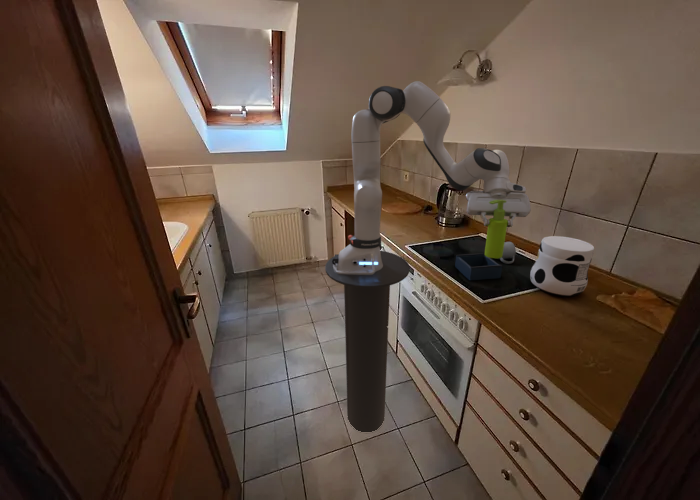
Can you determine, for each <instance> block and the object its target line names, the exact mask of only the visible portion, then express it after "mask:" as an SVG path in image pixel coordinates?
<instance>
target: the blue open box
mask: <svg viewBox="0 0 700 500" xmlns="http://www.w3.org/2000/svg"><path fill="white" fill-rule="evenodd" d="M484 253H485V252H481V253H466V254H465V253H464V254H456V256H455V263H454V267H455V268H456V269H457V271H459V272H460V273H461V274H462V275H463V276H464V277H465V278H466V279H467V280H468V281H481V280H494V279H496V280H497V279H501V278H502V277H501V276H502V272H503V264H499V263H498V262H496V261H495V260H494V259H493V258H489V257H487V256H485V255H484Z"/></svg>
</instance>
